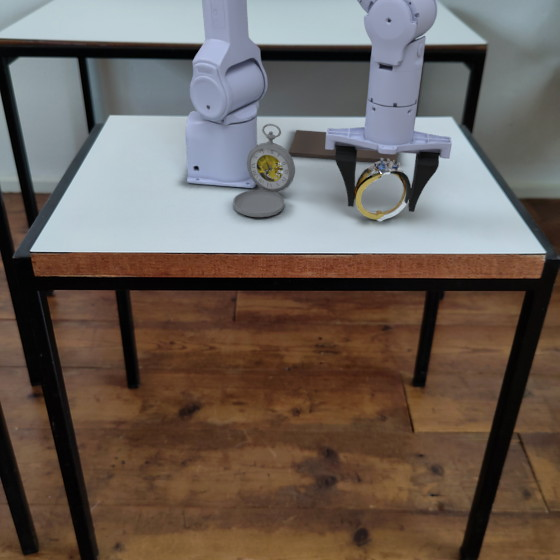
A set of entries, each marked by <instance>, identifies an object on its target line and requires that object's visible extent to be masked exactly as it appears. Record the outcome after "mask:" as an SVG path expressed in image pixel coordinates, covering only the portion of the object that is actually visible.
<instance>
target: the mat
mask: <svg viewBox="0 0 560 560" xmlns="http://www.w3.org/2000/svg"><path fill="white" fill-rule="evenodd" d="M326 132H327V131H318V130H317V131H315V130H301V129H296V130H295V133H294V136H293V138H292V142H291V144H290V148H289V150H288V153H289V154H290V155H291V157H297V158H298V157H300V158H311V159H312V158H314V159H325V160H335V154H336V148H335V149H334V150H328V149H325V143H326ZM381 158H383V161H386V162H387V159H390V161H392V162H393V160H395V163H394V165H397V163H398V152H397V153H396V154H393V155H392V154H381V153H379V152H378V151H371V150H358V149H357V159H356V162H364V163H365V162H366V163H375V162H378V161H380V159H381Z"/></svg>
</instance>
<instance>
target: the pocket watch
mask: <svg viewBox="0 0 560 560" xmlns="http://www.w3.org/2000/svg"><path fill="white" fill-rule="evenodd" d="M269 126H271V127H274V128H276V129H277V130H278V133H277V134H276V135H275V134H274V132H273V131H272V130H269V132H268V133H266V132H265V131H266V130H265V129H266V128H267V127H269ZM261 131H262V133H263V135H265V137H266V139H267V140H268V142H267V141H266V142H261V143H259V144H257V146H255V147H254V148H253V149H252V150H251V151H250V153H249V155H248V158H247V169H248V172H249V174H250V177H251V178H252V179H253V181H254V182H255V183H256V186H258V187H259V188H260V189H249V190H245V191H243V192H240V193H238V194H237V195H235V196H234V198H233V200H232V205H233V208H234V209H235V210H236V212H238V213H239V214H241V215H243V216H246V217H252V218H266V217H273V216H275V215H277V214H279V213H281V212H282V211H283V210H284V208H285V205H286V201H285V198H284V197H283V196H282V195H281V194H279V192H282V191H284V190H286V189H287V188H289V186H290V185H291V184H292V183H293V182H294V178H295V175H296V165H295V161H294V159H293V156H291V155H290V154H289V150H287V149H286V148H285V147H284V146H282V145H280V144H278V143H276V142H274V140H275V139H276V138H279V137H280V136H281V135H282V130H281V128H280V127H279V126H278V125H277V124H273V123H267V124H265V125H263V126H262V128H261ZM262 167H263V168H262ZM281 172H282V173H281Z"/></svg>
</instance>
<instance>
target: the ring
mask: <svg viewBox="0 0 560 560" xmlns="http://www.w3.org/2000/svg"><path fill="white" fill-rule="evenodd" d="M394 163H395V160H393V162H392V161H390V159H387V162H386V161H383V158H381V159H380V161H378V162H373V163H372V164H370V165H369V166H367V167H366V168H365V169H364V170H363V171H362V172H361V174H360V175H359V177H358V179H357V181H356V182H355V190H354V198H355V200H354V203H355V204H356V208H357V209H358V211H359V212H360V213H361V214H362V216H364V217H366V218H368V219H370V220H376V221H377V222H383V221H384V220H387V219H390V218H392V217H394V216H397V215H398V214H399V213H400V212H402V211H403V210H404V208H405V207H406V206H407V204H408V203H409V198H410V194H411V186H412V184H411V181H410V178H409V177H408V175H407V174H406V172H405V171H404V170H402V169H399V168H400V165H401V162H399V161H397V164H396V165H395V164H394ZM374 171H375V172H374ZM372 172H374V173H373V174H371V173H372ZM385 175H395V176H396V177H397V178H398V179H399V180H400V181H401V184H402V195H401V198H400V199H399V201H398V203H397V204H396V205H395V206H393V207H392V208H390V209H389V210H386V211H382V210H377V211H376V212H375V211H374V212H373V211H371V210H368V209H367V208H365V207H364V205H363V204H362V196H363V193H364V191H365V190H366V189H367V188H368V187H369V186H370V185H371V184H373V182H375V181H377V180H379V179H381V178H382V177H383V176H385Z"/></svg>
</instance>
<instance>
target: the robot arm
mask: <svg viewBox="0 0 560 560" xmlns="http://www.w3.org/2000/svg"><path fill="white" fill-rule="evenodd" d="M356 1H357V3H358V5H360V7H361V8H362V10H363V11H364V12H366V14H365V15H364V16H363V25H364V29H365V32H366V35H367V37H368V38H369V41H370V42H371V53H370V54H371V55H370V63H369V64H370V65H369V74H368V85H367V86H368V87H367V95H366V96H367V97H366V106H365V107H366V108H365V117H364V126H360V127H345V128H344V127H343V128H333V127H330V128H328V127H327V129H326V131H325V132H326V143H325V149H328V150H334V149H335V148H336V154H335V159H334V160H335V164H336V166H337V168H338V170H339V173H340V175H341V177H342V181H343V184H344V187H345V192H346V197H347V207H350V208H351V207H352V208H354V206H355V198H354V190H355V186H356V170H357V161H356V159H357V149H358V150H371V151H378V152H379V153H381V154H392V155H393V154H396V153H397V154H398V153H400V154H413V155H415V158H414V159H415V160H414V169H413V176H412V182H411V194H410V198H409V201H408V203H407V204H408V206H407V207H408V209H407V211H408V212H409V213H414V212H415V209H416V206H417V203H418V202H419V199H420V196H421V194H422V192H424V189H425V187H426V185H427V184H428V182H429V181H430V180H431V178H432V177H433V176H434V175H435V173H436V172H437V170H438V169H439V166H440V165H439V164H440V160H439V159H440V158H441V159H450V158H451V157H450V156H451V150H452V144H453V143H452V137H451V136H445V135H437V134H432V133H427V132H423V131H417V130H415V125H416V118H417V112H418V111H417V110H418V102H419V95H420V87H421V79H422V73H423V72H422V71H423V65H424V54H425V47H426V39H427V36H426V35H425V34H427V33H428V31H430V29H431V28H432V27H433V26H434V24H435V22H436V19H437V15H438V3H437V0H356ZM201 6H202V17H203V18H202V19H203V29H204V41H203V43H202V45H201V46H200V48H199V50H198V52H197V53H196V54H195V56H194V58H193V60H192V76H191V77H192V78H191V81H190V83H189V97H190V100H191V103H192V105H193V107H194V109H195V110H192V111H190V112H189V113H188V116H187V119H186V125H185V151H186V165H187V166H186V167H187V178H186V182H187V183H189V184H195V185H196V184H198V185H210V186H222V187H235V188H246V189H254V188H255V187H256V186H257V184H256V183H255V182H254V181H253V179H252V178H251V177H250V174H249V172H248V169H247V158H248V155H249V153H250V151H251V150H252V149H253V148H254V147H255V146H257V145H258V110H259V109H260V101H261V100H262V99H263V98H264V96H265V95H266V93H267V90H268V85H269V81H268V76H267V72H266V70H265V67H264V66H263V63H262V57H261V48H260V47H259V46H258V44H256V43H255V42H254V41H253V40H252V39H251V38H250V37H249V36H250V35H249V18H248V1H247V0H201ZM262 168H263V167H262Z"/></svg>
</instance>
